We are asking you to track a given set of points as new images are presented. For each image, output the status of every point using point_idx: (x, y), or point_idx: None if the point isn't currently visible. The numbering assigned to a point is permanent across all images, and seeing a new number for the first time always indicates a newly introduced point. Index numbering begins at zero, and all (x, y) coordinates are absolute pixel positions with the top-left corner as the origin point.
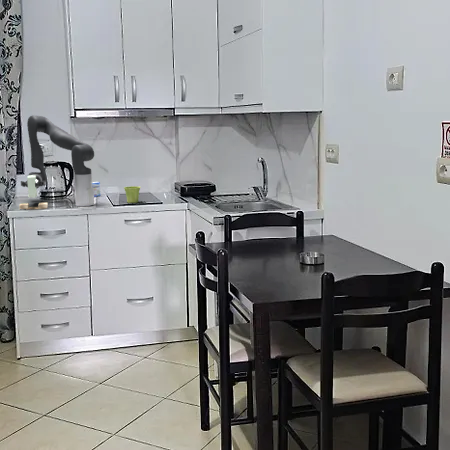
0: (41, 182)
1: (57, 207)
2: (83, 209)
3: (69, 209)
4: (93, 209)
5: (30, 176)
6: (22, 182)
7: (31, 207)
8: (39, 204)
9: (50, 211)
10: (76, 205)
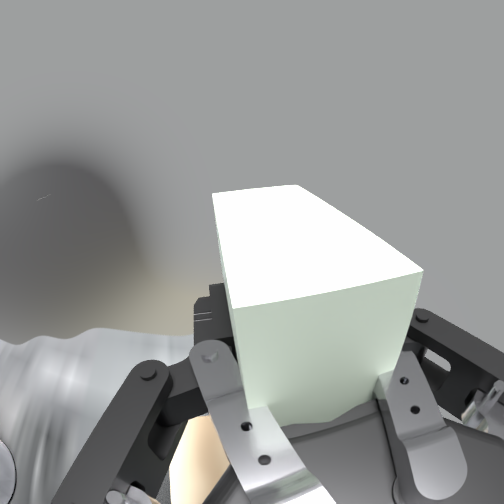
0: (139, 373)
1: None
2: (27, 363)
3: (68, 379)
4: (6, 353)
5: (292, 209)
6: (449, 328)
7: None
8: None
9: (154, 345)
10: (14, 470)
